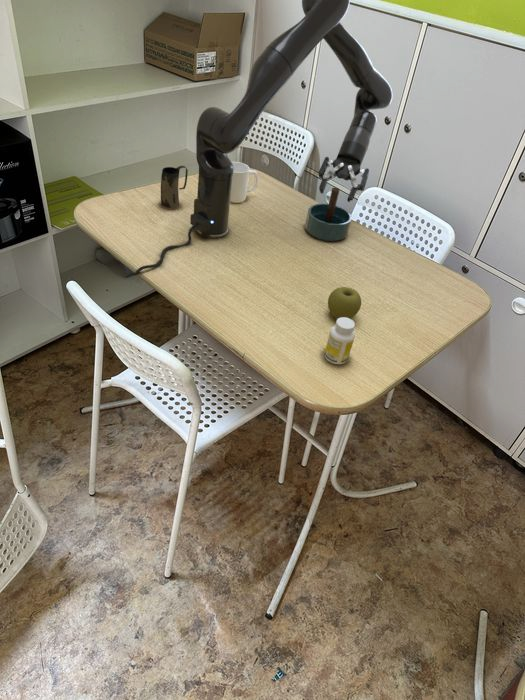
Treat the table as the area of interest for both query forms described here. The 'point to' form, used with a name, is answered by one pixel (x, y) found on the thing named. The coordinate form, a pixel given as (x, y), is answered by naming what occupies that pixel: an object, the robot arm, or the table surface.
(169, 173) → the mug
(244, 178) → the cup
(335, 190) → the brown rod with base
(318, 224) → the bowl
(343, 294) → the apple
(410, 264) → the table surface
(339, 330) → the supplement bottle
